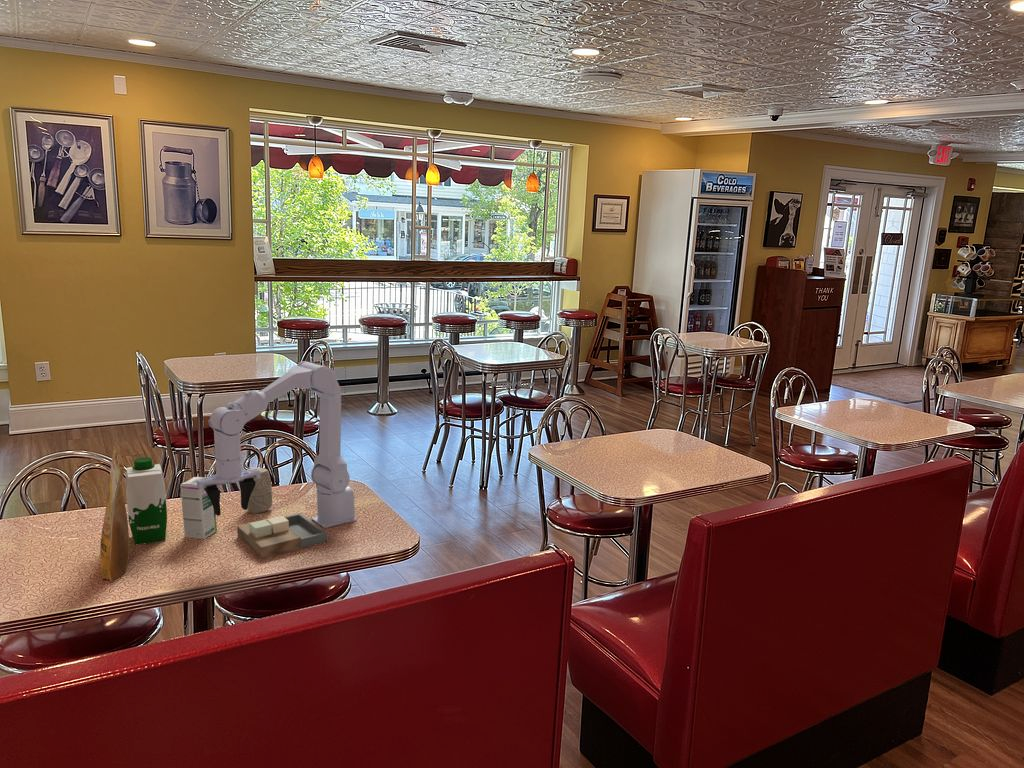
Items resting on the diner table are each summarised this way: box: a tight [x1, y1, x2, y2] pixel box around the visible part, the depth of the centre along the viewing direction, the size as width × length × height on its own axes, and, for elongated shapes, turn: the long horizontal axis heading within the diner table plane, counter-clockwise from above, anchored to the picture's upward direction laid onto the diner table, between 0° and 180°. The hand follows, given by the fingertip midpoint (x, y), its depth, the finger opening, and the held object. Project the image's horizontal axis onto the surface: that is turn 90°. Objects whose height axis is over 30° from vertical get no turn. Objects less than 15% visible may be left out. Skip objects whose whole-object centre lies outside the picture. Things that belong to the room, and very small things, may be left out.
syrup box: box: [180, 476, 218, 540], centre depth 196 cm, size 6×6×14 cm
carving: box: [247, 467, 274, 514], centre depth 213 cm, size 6×8×12 cm
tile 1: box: [248, 519, 272, 538], centre depth 192 cm, size 4×4×2 cm
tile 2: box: [266, 515, 289, 534], centre depth 195 cm, size 4×4×2 cm
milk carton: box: [125, 457, 168, 546], centre depth 193 cm, size 9×9×20 cm
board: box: [236, 516, 301, 560], centre depth 194 cm, size 10×16×3 cm, turn 39°
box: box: [284, 512, 328, 549], centre depth 199 cm, size 7×16×2 cm, turn 39°
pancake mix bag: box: [99, 441, 130, 583], centre depth 176 cm, size 7×19×28 cm, turn 23°
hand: (231, 511), depth 186 cm, fingers open, 6 cm apart
